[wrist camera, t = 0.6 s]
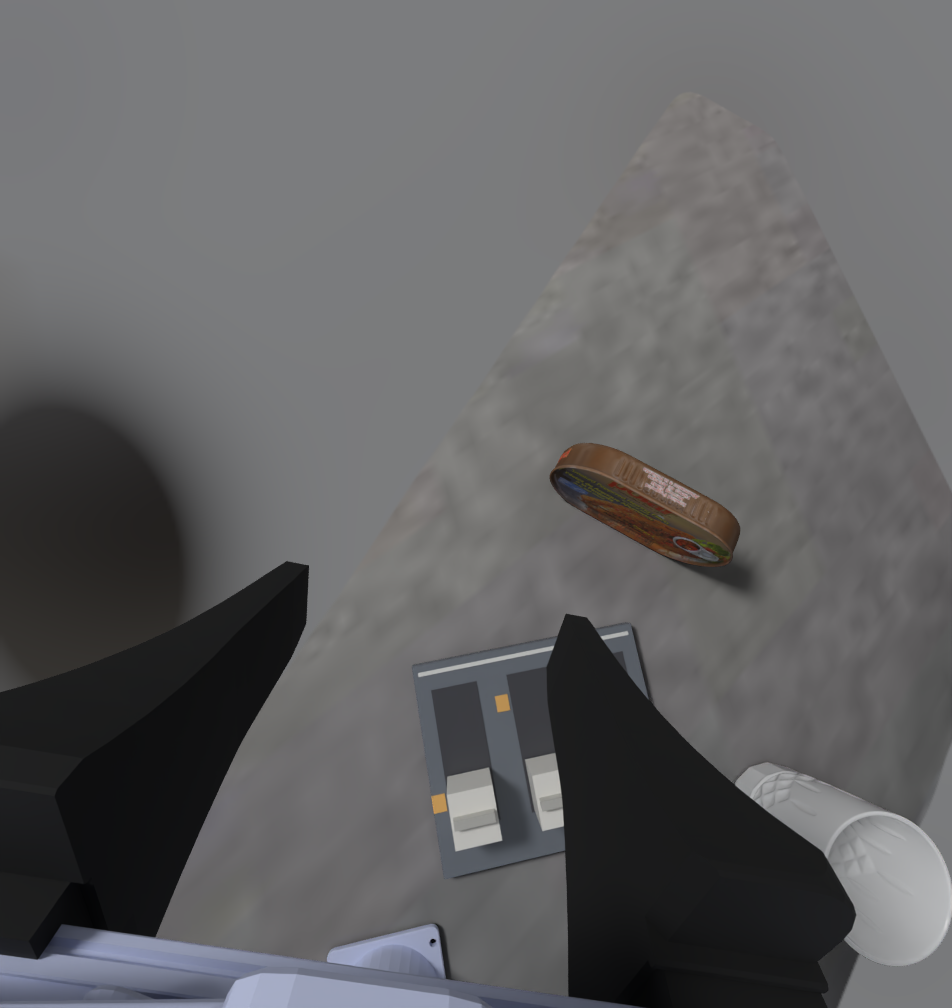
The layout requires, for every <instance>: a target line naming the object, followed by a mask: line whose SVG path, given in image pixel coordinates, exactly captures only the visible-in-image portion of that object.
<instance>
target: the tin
mask: <svg viewBox="0 0 952 1008" xmlns="http://www.w3.org/2000/svg"><path fill="white" fill-rule="evenodd" d="M550 482H551V484H552V486H553V487H554V489H555V490H556V491H557V493H558V494H559V495H560V496H561V497H562V498H564V499H565V500H566V501H567V502H569V503H570V504H571V505H573V506H575V507H576V508H578V509H579V510H581V511H583V512H585V513H586V514H588V515H590V516H592V517H594V518H596V519H597V520H599V521H601V522H603V523H605V524H607V525H608V526H610V527H612V528H614V529H616V530H617V531H619V532H621V533H623V534H625V535H626V536H628V537H630V538H632V539H633V540H635V541H637V542H639V543H641V544H643V545H644V546H646V547H648V548H650V549H652V550H654V551H656V552H658V553H660V554H662V555H664V556H667V557H669V558H672V559H675V560H678V561H681V562H684V563H688V564H692V565H698V566H706V567H720V566H724V565H727V564H728V563H730V562H731V560H732V558H733V551H734V549H735V546H736V544H737V541H738V538H739V535H740V526H739V523H738V521H737V519H736V518H735V517H734V516H733V515H732V513H731V512H729V511H728V510H727V509H726V508H725V507H723V506H722V505H720V504H719V503H717V502H716V501H714V500H712V499H710V498H708V497H707V496H705V495H703V494H701V493H699V492H697V491H696V490H694V489H692V488H690V487H688V486H686V485H684V484H683V483H681V482H679V481H677V480H675V479H673V478H671V477H670V476H668V475H666V474H664V473H662V472H660V471H658V470H656V469H655V468H653V467H651V466H649V465H647V464H645V463H643V462H642V461H640V460H638V459H636V458H634V457H632V456H630V455H628V454H626V453H624V452H622V451H620V450H617V449H614V448H611V447H608V446H604V445H600V444H593V443H580V444H576V445H573V446H571V447H570V448H568V449H567V450H566V451H564V453H563V454H562V456H561V458H560V459H559V461H558V463H557V465H556V467H555V469H553V470H552V472H551V473H550Z"/></svg>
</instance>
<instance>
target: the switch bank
mask: <svg viewBox="0 0 952 1008" xmlns="http://www.w3.org/2000/svg"><path fill="white" fill-rule="evenodd" d="M595 629H596V631H597V632H598V634H599V635H600V636H601V638H602V639H603V641H604V642H605V644H606V645H607V646H608V648H609V649H610V651H611V652H612V653H613V655H614V656H615V657H616V659H617V660H618V662H619V663H620V664H621V666H622V667H623V668H624V670H625V671H626V672H627V674H628V675H629V676H630V677H631V679H632V680H633V681H634V683H635V684H636V685H637V686H638V688H639V689H640V690H641V691H642V692H643V694H644V695H645V696H646V697H647V698H648V695H647V691H646V686H645V682H644V678H643V674H642V670H641V665H640V661H639V657H638V653H637V649H636V645H635V640H634V636H633V632H632V628H631V624H630V623H621V624H616V625H611V626H606V627H601V628H595ZM557 637H558V636H555V637H550V638H545V639H540V640H535V641H530V642H525V643H520V644H515V645H510V646H505V647H500V648H495V649H490V650H485V651H480V652H475V653H470V654H465V655H460V656H455V657H450V658H445V659H440V660H435V661H430V662H425V663H420V664H415V665H413V666H412V671H413V678H414V684H415V691H416V697H417V704H418V711H419V717H420V724H421V730H422V737H423V744H424V750H425V757H426V763H427V770H428V776H429V783H430V790H431V797H432V803H433V810H434V816H435V822H436V829H437V836H438V842H439V849H440V855H441V862H442V869H443V875H444V879H448V878H452V877H456V876H460V875H465V874H469V873H473V872H477V871H481V870H485V869H490V868H494V867H498V866H502V865H506V864H511V863H515V862H519V861H523V860H527V859H531V858H536V857H540V856H544V855H548V854H552V853H556V852H561V851H565V837H564V826H562V827H558V828H554V829H550V830H545V831H542V828H541V826H540V823H539V820H538V818H537V815H536V812H535V810H534V805H533V800H532V794H531V789H530V784H529V778H528V773H527V768H526V762H525V759H529V758H534V757H539V756H543V755H548V754H552V753H555V748H554V742H553V735H552V729H551V722H550V716H549V709H548V702H547V670H546V667H547V664H548V661H549V659H550V656H551V653H552V650H553V648H554V645H555V642H556V639H557ZM648 700H649V699H648ZM484 768H489V770H490V775H491V780H492V785H493V790H494V796H495V802H496V808H497V813H498V819H499V825H500V830H501V836H502V841H498V842H494V843H490V844H486V845H481V846H477V847H473V848H469V849H464V850H460V851H455V845H454V838H453V832H452V826H451V819H450V813H449V807H448V800H447V777H448V776H453V775H457V774H462V773H466V772H471V771H475V770H480V769H484Z"/></svg>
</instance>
